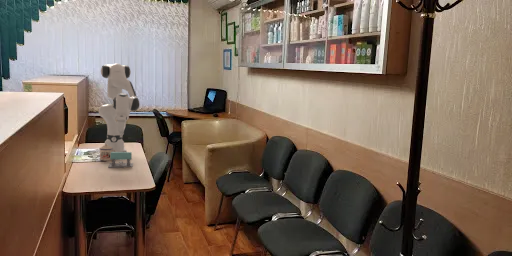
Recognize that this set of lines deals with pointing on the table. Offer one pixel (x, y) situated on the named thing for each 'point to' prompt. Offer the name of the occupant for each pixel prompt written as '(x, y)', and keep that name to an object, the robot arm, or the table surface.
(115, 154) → the frame bar
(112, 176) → the table surface
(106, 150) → the teacup with lid
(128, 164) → the display stand
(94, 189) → the table surface
